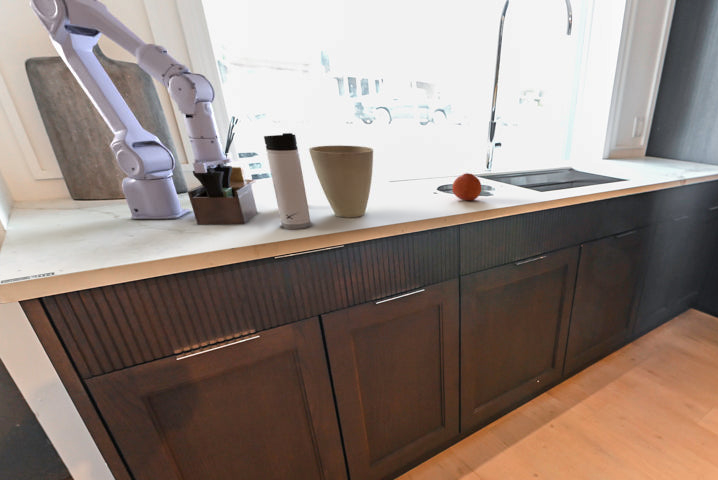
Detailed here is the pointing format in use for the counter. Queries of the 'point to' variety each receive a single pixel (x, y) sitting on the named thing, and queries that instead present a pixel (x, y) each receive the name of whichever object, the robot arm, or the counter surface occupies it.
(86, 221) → the counter surface
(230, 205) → the box
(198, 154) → the robot arm
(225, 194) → the block
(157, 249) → the counter surface
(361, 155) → the plant pot
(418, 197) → the counter surface
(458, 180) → the fruit
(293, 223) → the travel mug
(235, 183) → the lid
